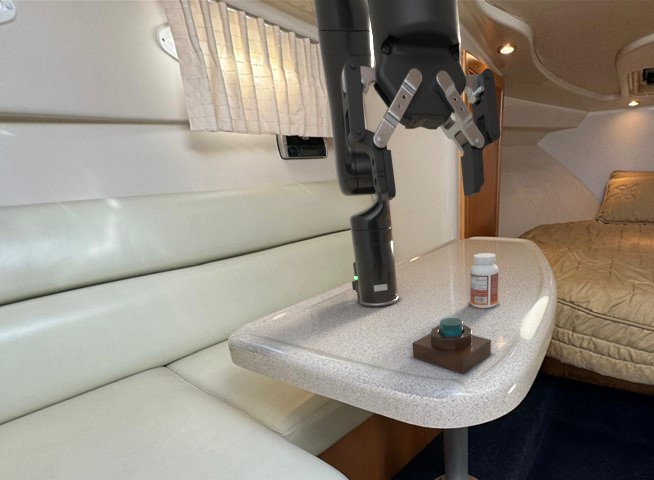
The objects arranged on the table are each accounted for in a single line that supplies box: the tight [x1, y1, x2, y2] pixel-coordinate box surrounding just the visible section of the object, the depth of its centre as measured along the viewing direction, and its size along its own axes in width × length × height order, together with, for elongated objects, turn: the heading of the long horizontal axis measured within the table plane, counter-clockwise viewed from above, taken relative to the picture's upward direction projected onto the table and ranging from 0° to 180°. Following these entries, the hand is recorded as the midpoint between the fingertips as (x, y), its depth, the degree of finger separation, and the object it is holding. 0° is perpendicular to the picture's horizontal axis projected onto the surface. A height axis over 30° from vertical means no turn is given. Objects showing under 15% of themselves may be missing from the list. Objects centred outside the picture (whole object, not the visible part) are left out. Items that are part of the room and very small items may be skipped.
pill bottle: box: [469, 252, 499, 309], centre depth 81 cm, size 6×6×11 cm
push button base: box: [412, 324, 492, 375], centre depth 59 cm, size 10×8×4 cm
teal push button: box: [439, 317, 464, 336], centre depth 58 cm, size 4×4×2 cm
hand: (432, 196), depth 34 cm, fingers open, 8 cm apart
